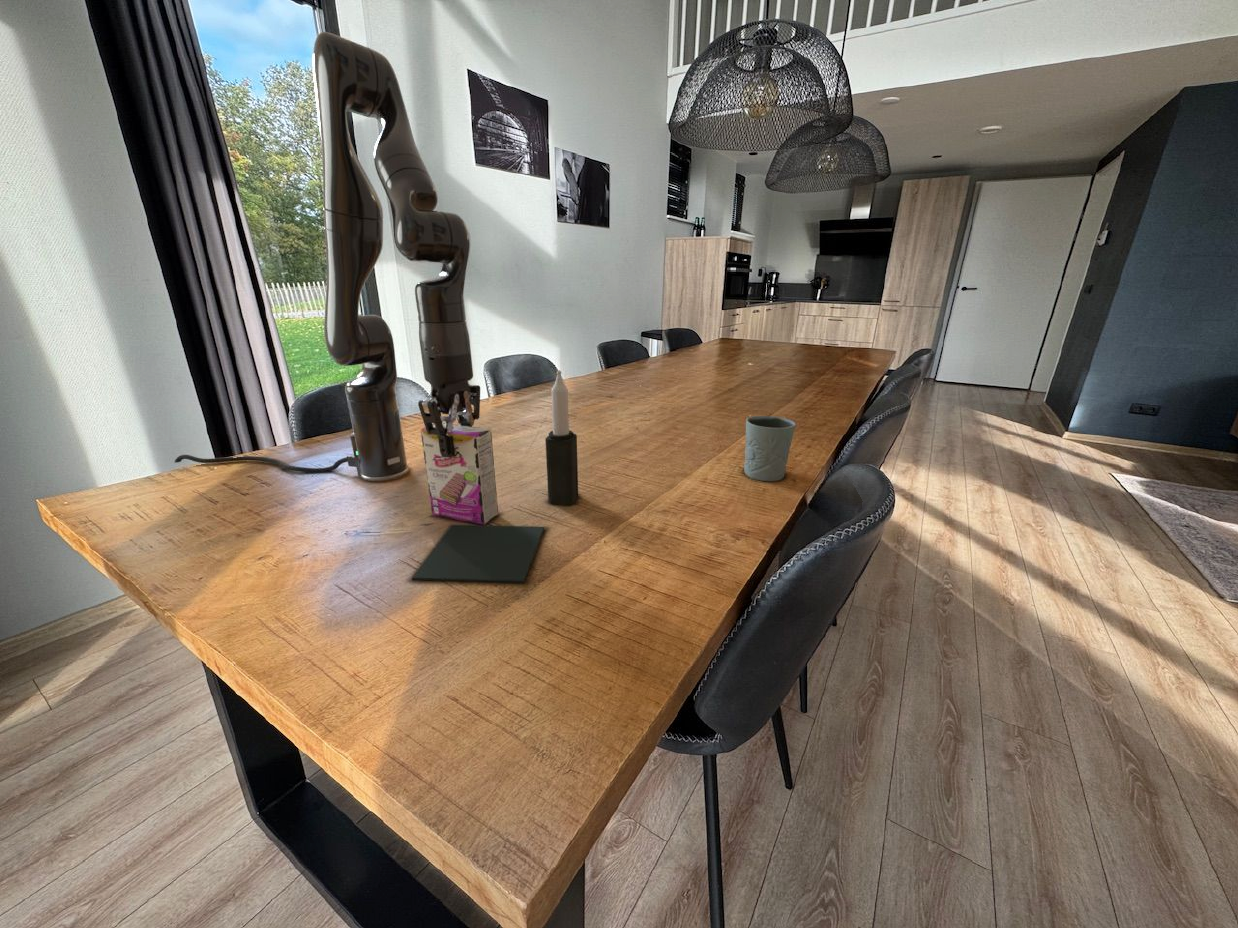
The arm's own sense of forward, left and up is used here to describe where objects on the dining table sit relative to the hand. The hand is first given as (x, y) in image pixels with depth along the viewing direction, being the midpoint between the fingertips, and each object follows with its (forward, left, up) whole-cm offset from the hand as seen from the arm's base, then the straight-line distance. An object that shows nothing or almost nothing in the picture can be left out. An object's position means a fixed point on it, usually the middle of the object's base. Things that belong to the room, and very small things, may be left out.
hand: (457, 450), depth 84 cm
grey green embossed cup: (+51, +38, -13) cm, 65 cm away
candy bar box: (0, 0, -13) cm, 13 cm away
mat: (+10, -10, -12) cm, 19 cm away
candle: (+14, +12, -13) cm, 22 cm away
